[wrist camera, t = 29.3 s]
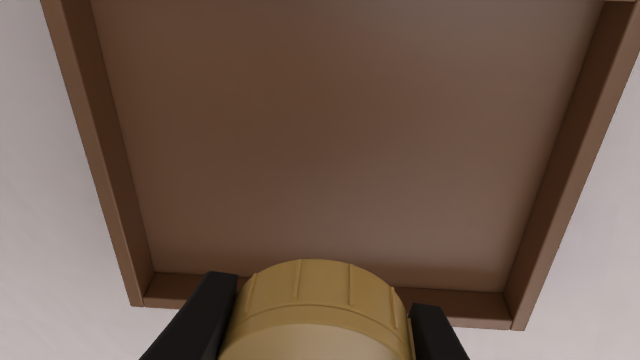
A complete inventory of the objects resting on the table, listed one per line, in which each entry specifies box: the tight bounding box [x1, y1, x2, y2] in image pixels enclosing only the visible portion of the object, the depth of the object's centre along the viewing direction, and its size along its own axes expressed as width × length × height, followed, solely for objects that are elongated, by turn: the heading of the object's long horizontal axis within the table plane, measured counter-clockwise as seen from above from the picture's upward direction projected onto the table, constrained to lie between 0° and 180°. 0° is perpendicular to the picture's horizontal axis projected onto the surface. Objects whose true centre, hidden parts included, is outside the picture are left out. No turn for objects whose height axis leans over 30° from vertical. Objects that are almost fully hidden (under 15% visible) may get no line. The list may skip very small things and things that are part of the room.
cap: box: [217, 259, 416, 360], centre depth 9 cm, size 4×4×2 cm
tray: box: [40, 0, 640, 331], centre depth 16 cm, size 16×13×2 cm
